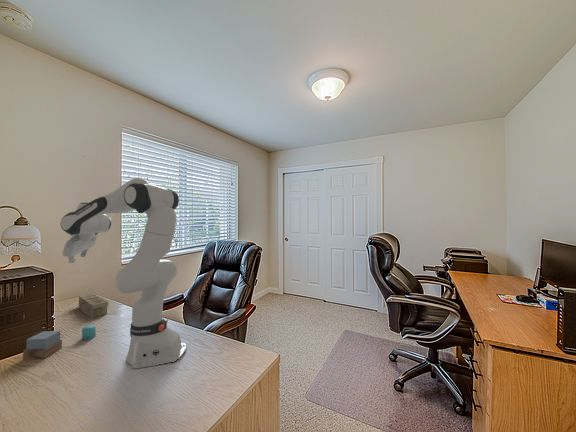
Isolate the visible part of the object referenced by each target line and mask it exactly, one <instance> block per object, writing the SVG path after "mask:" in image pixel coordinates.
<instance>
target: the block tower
mask: <svg viewBox="0 0 576 432" xmlns="http://www.w3.org/2000/svg"><path fill="white" fill-rule="evenodd" d="M78 307H79V308H78V309H80V311H82V312H83V313H84V314H85V315H87V316H88V317H90V318H91V319H93V318H97V317H102V316H104V315H107V314H108V307H109V301H108V300H105V299H104V298H103V297H100V296H99V295H97V294H96V293H94V292H90V293H85V294H83V295H79V296H78Z"/></svg>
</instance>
